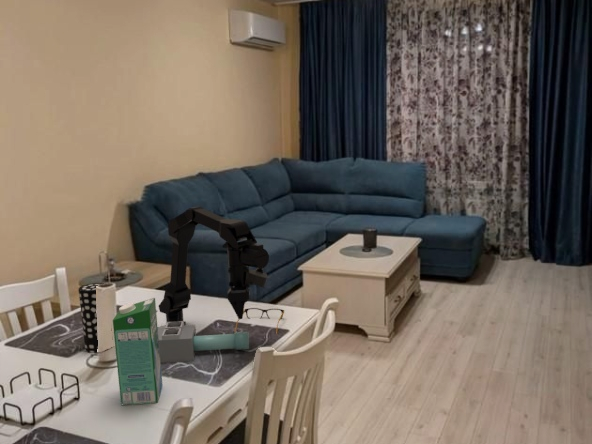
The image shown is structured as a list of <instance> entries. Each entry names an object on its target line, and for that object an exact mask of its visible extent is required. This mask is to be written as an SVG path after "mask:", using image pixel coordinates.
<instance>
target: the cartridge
mask: <svg viewBox="0 0 592 444" xmlns="http://www.w3.org/2000/svg"><path fill="white" fill-rule="evenodd" d="M249 336H250V333H249V331H236V332H235V331H234V333H224V334H223V333H222V334H210V335H208V334H207V335H196V336H193V348H194V351H195V352H199V351H213V350H218V351H219V350H231V349H235V350H239V351H240V350H249V349H250V337H249Z"/></svg>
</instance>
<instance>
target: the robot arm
mask: <svg viewBox="0 0 592 444" xmlns="http://www.w3.org/2000/svg"><path fill="white" fill-rule="evenodd" d="M198 225H201V226H203V227H206V228H208V229H209V230H213V232H214V231H215V232H216V233H217V234H219V237H220V238H221V239H222V240H223V241H225V242H224V244H223V245H222V246H221V247H222V249H227V262H228V265H227V266H228V270H227V271H228V272H227V273H228V278H229V279H228V280H229V281H228V286H229V289H228V290H227V301H228V302H229V304H230V305H231V307H232V309H233V312H235V314H236V317H237V320H238V319H239V320H243V317H244V314H243V311H244V310H245V304H246V303H247V302H248V301H249V300H250V299H251V298H250V297H251V295H250V294H251V293H250V285H255V286H258V287H260V288H261V289H262V288H265V286H266V283H267V280H268V274H267V272H264V268H266V267H267V265H268V264H269V261H270V255H269V253H268V251H267V249H265V248H264V244H261V243H260V244H257V243H258V242H257V240H256V238H255V235H254V234H253V232H252V230H251V229H250V227H249V224H248V223H247V222H246V221H244V220H240V219H232V218H225V217H223V216H220V215H219V214H217V213H214V212H212V211H209V210H207V209H204V208H203V207H202V206H192V207H189V208H187V209H186V210H185V211H184V212H182V213H180V214H179V215H177V216H175V217H174V218H171V219H170V220H168V224H167V229H168V236H169V238H170V239H171V240H170V241H171V242H172V249H171V250H172V252H171V266H170V267H171V269H170V281H169V284H168V285H167V287H166V288H165V289H164V295H163V299H162V301H161V302H160V303H159V304H158V309H159V312H160V313H162V314H165V320H166V321H165V322H166V323H167V322H173V321H184V310H185V309H188V308H189V304H190V300H192V297H191V296H192V295H191V294H192V288H189V287H188V285H187V281H186V280H187V268H188V265H187V264H188V255H189V254H188V253H189V252H188V251H189V243H190V242H191V240H192V239H193V237H194V235H195V231H196V227H197V226H198ZM250 267H251V268H256V269H250ZM184 325H187V322H186V321H184Z"/></svg>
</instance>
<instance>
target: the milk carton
mask: <svg viewBox="0 0 592 444" xmlns="http://www.w3.org/2000/svg"><path fill="white" fill-rule="evenodd" d="M157 317H158V316H157V305H156V297H153V298H152V297H151V298H150V299H145V300H143V301H140V302H137V303H136V302H135V303H134V302H129V303H126V304H124V305H121V306H120V307H119V308H118V311H117V313H116V315H115V316H114V318H113V319H112V325H113V326H112V327H113V337H114V345H115V348H114V349H115V356H116V366H117V368H116V369H117V376H118V387H119V395H120V405H121V404H123V405H122V406H128V405H127V404H132V405H143V403H146V404H156V403H158V402H159V399H160V395H161V392H162V389H163V375H162V374H163V373H162V365H161V364H162V363H161V361H160V350H159V338H158V327H159V326H158V318H157ZM125 404H126V405H125Z"/></svg>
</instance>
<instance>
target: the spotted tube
mask: <svg viewBox="0 0 592 444" xmlns="http://www.w3.org/2000/svg"><path fill="white" fill-rule="evenodd" d="M102 284H105V282H104V283H103V282H94V283H87V284H84V285H82V286H79V287H78V290H77V291H78V297H79V298H78V299H79V306H80V307H79V308H80V314H81V315H80V316H81V324H82V334H83V341H84V349H85V352H87V353H89V354H98V353H97V349H98V340H97V314H96V286H98V285H102Z"/></svg>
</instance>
